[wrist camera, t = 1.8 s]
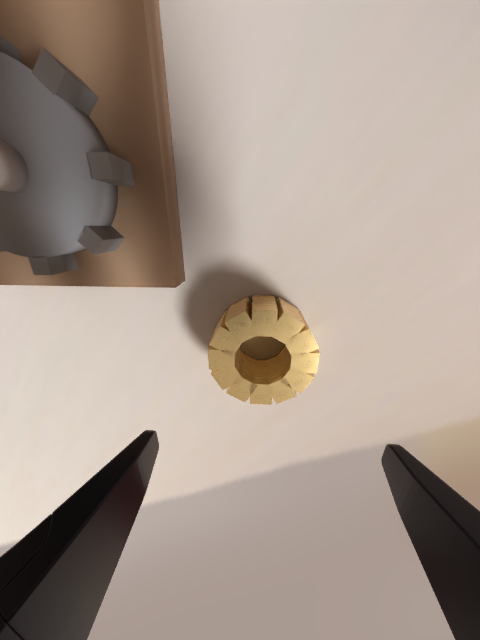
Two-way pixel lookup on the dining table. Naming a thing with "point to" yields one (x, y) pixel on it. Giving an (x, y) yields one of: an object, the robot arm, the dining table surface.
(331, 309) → the dining table surface
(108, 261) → the gear board
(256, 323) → the brass gear
